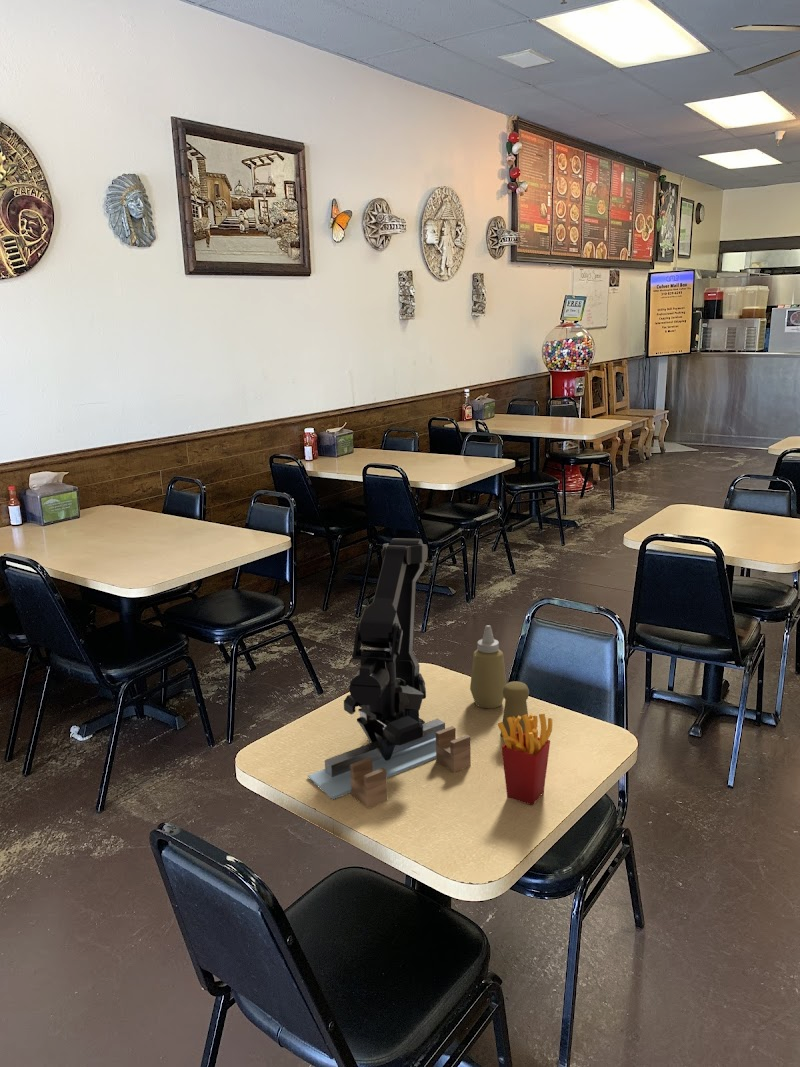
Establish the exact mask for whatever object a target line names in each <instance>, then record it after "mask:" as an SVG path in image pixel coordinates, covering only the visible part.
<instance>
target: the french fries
mask: <svg viewBox="0 0 800 1067" xmlns="http://www.w3.org/2000/svg"><path fill="white" fill-rule="evenodd" d="M522 718H523V721H524V723H525V734H523V731H522V727H521V726H520V724H519V721H520V720H521V716H519V715H518V717H517V718H515V717H514V716H513V717H508V718H507V721H508V723H509V727H510V737H509V736H508V733H507V731H506V729H505V727H504V725H503V723H502V721H500V722H498V723H497V726H498V729H499V731H500V734H501V733H502V735H503V737H502V738H503V741H504V744H503V746H501V755H502V756H501V757H502V763H503V771H504V772H503V773H504V779H505V780H504V781H505V788H506V795H507V796H506V797H507V798H508V799H511V800H514V801H518V802H522V803H524V804H528V805H531V806H534V805H535V804H536V802H537V801H538V800H539V798H540V797H541V796H542V795H541V794H543V793H544V792H545V784H546V777H547V769H548V761H549V753H550V745H551V740H550V739H549V738H550V736H551V734H552V732H553V719H552V718H551V717H548V718H546V713H540V714H538V715H534V714H533V713H530V714H528V715H527V714H525V715H523V716H522ZM538 718H539V722H540V735H539V734H538V733H539V732H538ZM546 719H547V720H546ZM513 721H514V723H513ZM516 727H517V728H518V732H517V731H516ZM538 735H539V737H538Z"/></svg>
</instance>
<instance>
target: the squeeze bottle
mask: <svg viewBox="0 0 800 1067" xmlns="http://www.w3.org/2000/svg"><path fill="white" fill-rule="evenodd" d="M504 658H505V657H504V652H503V651H502V650H501V649H500V642H499V640H498V639H495V638H494V635H493V628H492V626H491V625H490V624H489V625H488V624H487V625H485V627H484V632H483V636H482V638H481V639H479V640H478V641H477V649H476V650H475V651H473V656H472V666H471V675H470V676H471V677H470V687H469V690H470V692H471V695H472V698H473V701H474V703H475V704H476V706H477V707H480V708H483V709H495V708H499V707H500V706H501V705H503V701H504V700H505V698H504V696H503V688H504V686H505V685H506V684H507V677H506V669H505V659H504Z"/></svg>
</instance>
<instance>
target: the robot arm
mask: <svg viewBox="0 0 800 1067" xmlns="http://www.w3.org/2000/svg"><path fill="white" fill-rule="evenodd" d="M428 552H429V548H428V544H423V540H422V538H402V537H401V538H398V537H397V538H392V539H391V540H390V543H388V542H387V543H383V544H382V565H381V570H380V572H379V576H378V580H377V584H376V589H375V592H374V593H375V594H374V597H373V600H372V603H370V604H369V605H368V606H367V607H366V608H364V609H363V611H362V615H361V618H360V621H358V622H357V624H356V630H355V637H354V643H353V651H352V656H351V657H352V660H354V661H355V660H356V661H360V667H358V668H359V669H358V671H357V672H356V674H355V675H354V677H353V678H352V679H351V681H350V683H349V687H348V688H349V689H348V690H349V694H348V695H347V696H346V697H345V698H344V700H343V710H344V711H345V712H346V713H347V714H350V715H354V714H355V713H356V708H357V707H359V708H358V709H357V711H358V712H359V717H357V719H356V722H357V723H358V724H359V726H360V728H361V729H362V730H363V732H364V734H365V736H366V737H367V739H368V740H369V744H370V743H372V742H375V741H378V743H379V746H380V749H381V752H382V755H383V757H384V759H385V760H386V761H388V760H390V759H391V756H392V753H393V750H394V747H395V745H402V744H405V743H408V742H410V741H413V740H416V739H418V738H421V737H423V725H422V724H424V723H426V722H425V720H424V719H422V718H420V712H419V711H420V710H421V706H422V702H423V700H425V699H426V698H427V690H426V689H427V688H426V681H425V679H424V677H423V675H422V673H421V672H420V663H419V661H418V659H417V658H416V656H415V653H414V652H413V647H414V644H413V643H414V629H415V628H414V626H415V625H414V624H415V606H416V605H415V604H416V585H417V581H418V579H419V578H420V577H421V575H422V573H423V572H424V569H425V564H426V562H427V560H428ZM362 647H364V648H371V649H363V648H362Z"/></svg>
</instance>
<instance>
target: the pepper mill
mask: <svg viewBox="0 0 800 1067" xmlns="http://www.w3.org/2000/svg"><path fill="white" fill-rule="evenodd" d="M529 695H530V690H529V687H528V685H527V684H526V683H524V682H522V681H517V680H516V681H514V680H513V681H509V682H506V685H505V686H504V688H503V696H504V700H505V701H504V708H503V715H502V721H501V722H502V723H503V725H504V727H505V729H506V731H507V733H508V736H509V737H510V727H509V723H508V721H507V718H508V717H513V716H514V717H515V718H517V717H518V715H519V716H521V720H520V721H519V724H520V726H521V727H522V731H523V734H525V723H524V721H523V718H522V716H523V715H525V714H527V715H528V716H529V711H528V702H527V700H528V699H529ZM513 723H514V721H513ZM516 731H517V732H518V728H517V727H516ZM500 736H501V738H503V735H502V733H501V732H500Z"/></svg>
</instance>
